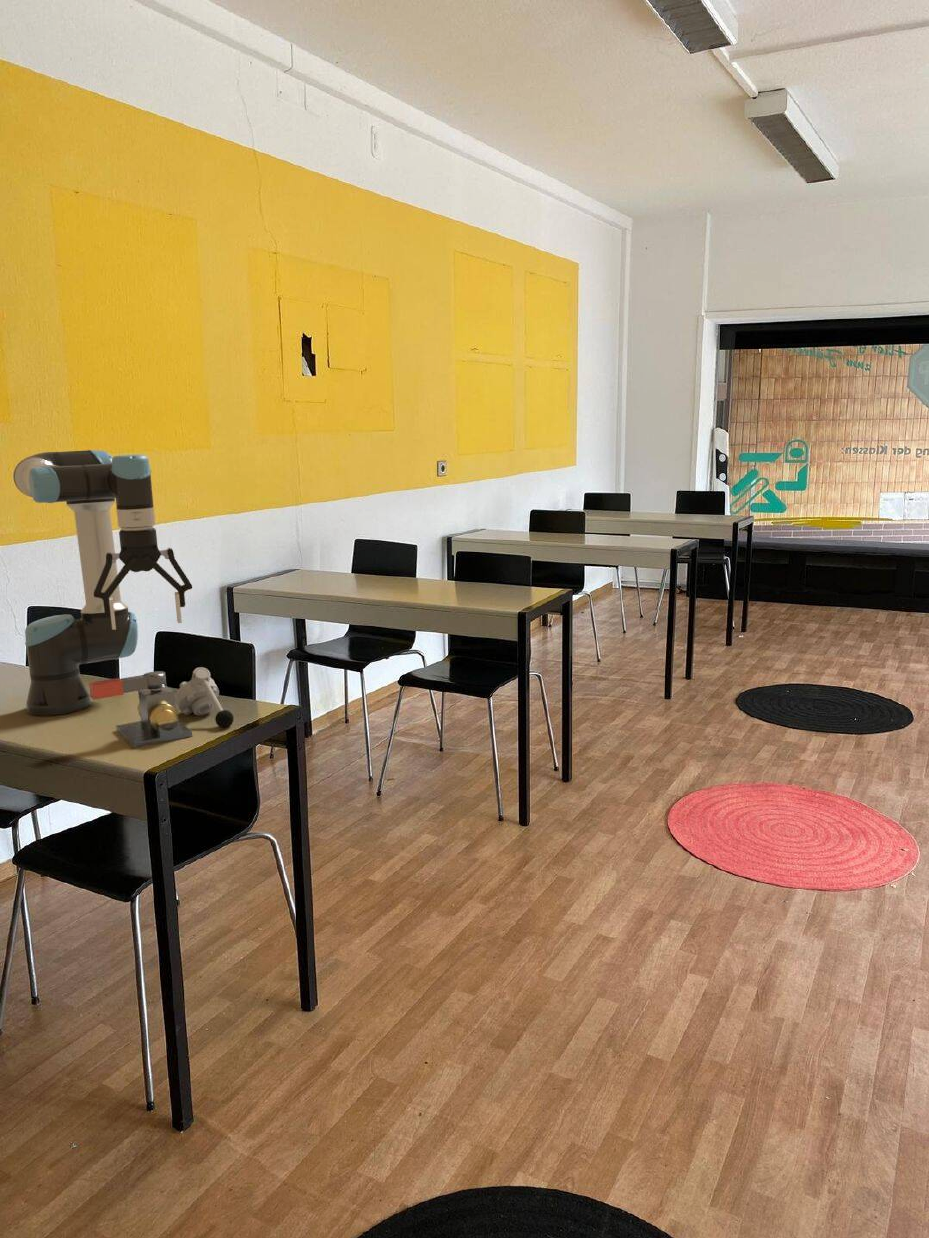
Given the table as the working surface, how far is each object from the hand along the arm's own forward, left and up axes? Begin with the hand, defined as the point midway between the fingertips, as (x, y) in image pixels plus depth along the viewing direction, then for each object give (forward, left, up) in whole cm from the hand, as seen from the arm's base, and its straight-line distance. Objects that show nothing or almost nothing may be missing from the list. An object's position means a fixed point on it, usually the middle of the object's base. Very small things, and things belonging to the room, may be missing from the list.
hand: (147, 625), depth 205 cm
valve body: (-8, +1, -27) cm, 29 cm away
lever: (-8, -3, -16) cm, 19 cm away
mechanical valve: (-11, +16, -28) cm, 34 cm away
